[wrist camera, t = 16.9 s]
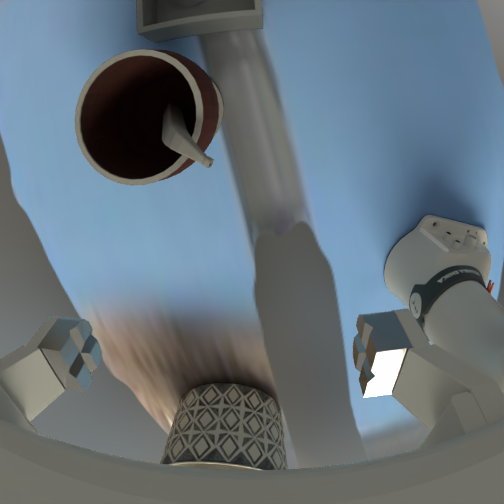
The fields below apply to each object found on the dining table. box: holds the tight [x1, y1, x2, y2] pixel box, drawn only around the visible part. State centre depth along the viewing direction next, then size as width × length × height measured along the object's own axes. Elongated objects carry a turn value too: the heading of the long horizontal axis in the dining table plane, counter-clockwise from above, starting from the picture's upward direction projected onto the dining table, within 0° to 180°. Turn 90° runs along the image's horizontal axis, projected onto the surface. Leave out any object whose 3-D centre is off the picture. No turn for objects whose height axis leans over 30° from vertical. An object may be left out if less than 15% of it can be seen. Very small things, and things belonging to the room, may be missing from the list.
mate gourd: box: [75, 49, 224, 185], centre depth 31 cm, size 16×14×20 cm
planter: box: [160, 383, 288, 470], centre depth 58 cm, size 26×26×22 cm
